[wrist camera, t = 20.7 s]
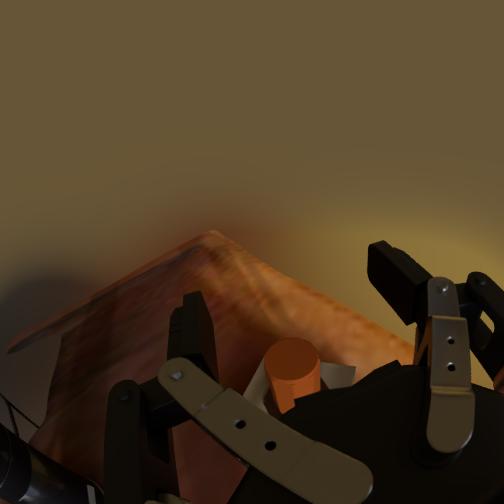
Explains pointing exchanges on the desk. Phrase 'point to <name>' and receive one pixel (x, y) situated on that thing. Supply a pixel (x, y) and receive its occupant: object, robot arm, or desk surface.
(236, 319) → the desk surface
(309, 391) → the hat
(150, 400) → the robot arm
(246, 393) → the grey stone tile
